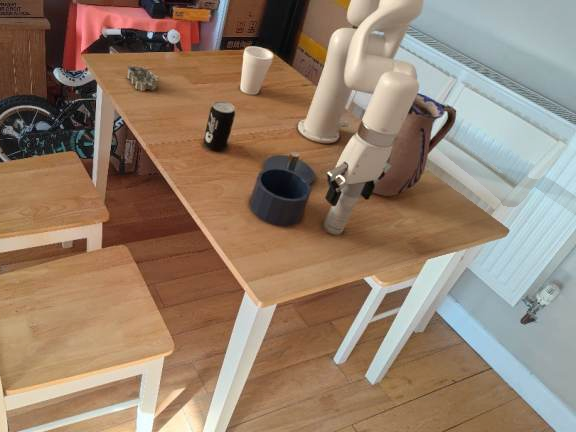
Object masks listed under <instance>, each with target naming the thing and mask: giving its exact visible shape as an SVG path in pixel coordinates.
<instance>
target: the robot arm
mask: <svg viewBox="0 0 576 432" xmlns="http://www.w3.org/2000/svg"><path fill="white" fill-rule="evenodd" d="M424 1H425V0H350V2H349V5H348V8H347V12H346V20H347V22H348V23H349V24H351V25H352V26H354V27H357V28H352V27H341V28H338V29H336V30H335V31H334V32H333V33H332V34H331V36H330V39H329V42H328V48H327V53H326V57H325V62H324V65H323V69H322V72H321V74H320V78H319V81H318V83H317V86H316V89H315V92H314V95H313V98H312V101H311V103H310V106H309V110H308V112H307V115H306V118H304V119H301V120H300V121H299V122H298V125H297V129H298V130H297V131H299V133H300V134H301V135H302V136H304V138H306V139H308V140H311V141H313V142H315V143H319V144H333V143H336V142H337V141H338V140H339V138H340V131H339V129H342V128H348V127H349V126H350V122H349V120H341V118H342V116H343V114H344V111H345V109H346V106H347V105H348V101H349V99H350V97H351V94H352V91H354V92H355V91H356V92H360V93H364V94H370V95H371V98H370V100H369V102H368V105H367V107H366V109H365V112H364V114H363V117H362V119H361V121H360V124H359V126H358V129H357V130H356V132H355V134H353V135H352V136H351V138H350V139H349V141H348V142H347V144H346V145H345V148H344V149H343V151H342V153H341V154H340V157H339V158H338V161H337V162H336V164H335V167H334V168H332V169H331V170H329V171H328V172H327V174H326V176H327V180H326V182H327V183H328V185H329V187H328V189H327V191H326V194H325V197H324V198H325V199H324V200H326V201H327V202H328V203H329V204H330V206H336V205H337V202H338V200H339V198H340V196H341V193H342V192H341V191H340V190H342V189H343V188H344V187H345V186H346V185H347V184H355V183H361V182H366V183H365V185H364V187H363V189H362V192H361V194H360V196H361V197H362V198H363V199H364V200H366V201H367V200H370V198H371V196H372V194H373V190H374V188H375V185H377V184H378V183H379V180H380V179H381V178H382V177H384V176H385V173H386V172H387V171H388V170H389V169H390V167H391V165H390V164H389V163H387V161H388V158H389V156H390V153H391V150H392V147H393V143H394V141H395V139H396V137H397V135H398V132H399V130H400V128H401V126H402V124H403V122H404V120H405V118H406V116H407V114H408V112H409V110H410V108H411V106H412V104H413V102H414V100H415V98H416V95H417V93H419V90H420V83H419V82H418V73H417V69H416V66H414V64H412V63H410V62H407V61H405V60H404V61H403V60H399V59H395V57H396V55H397V53H398V51H399V48H400V46H401V44H402V42H403V40H404V38H405V36H406V34H407V32H408V30H409V27H410V26H411V23H412V22H413V21H415V20H416V19H418V18H419V17H420V16H421V14H422V11H423V6H424ZM376 32H379V33H376ZM380 33H382V34H380ZM345 178H346V179H345ZM340 180H341V182H340V183H339V184H338V182H339V181H340Z"/></svg>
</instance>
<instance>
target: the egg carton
mask: <svg viewBox="0 0 576 432" xmlns="http://www.w3.org/2000/svg"><path fill="white" fill-rule="evenodd" d="M127 79H128V80H131V85H135V89H136V90H137V91H141V92H145V91H146V90H150V91H155V89H157V85H158V81H160V78H159V76H158V75H156V74H155V73H153V72H152V71H150V69H149V70H148V67H146V66H144V67H142V66H140V65H139V66H130V65H127Z"/></svg>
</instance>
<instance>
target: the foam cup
mask: <svg viewBox="0 0 576 432" xmlns="http://www.w3.org/2000/svg"><path fill="white" fill-rule="evenodd" d="M242 58H243V59H242V66H241V77H240V86H239V87H240V88H239V90H240V91H241V92H242V93H244V94H247V95H251V96H254V95H258V94H259V92H260V91H261V89H262V86H263V83H264V81H265V79H266V77H267V75H268V72H269V69H270V68H271V65H272V63H273V60H274V54H273V52H272V51H271V50H269V49H267V48H263V47H261V46H254V45H253V46H246V47H245V48H244V51H243V56H242Z"/></svg>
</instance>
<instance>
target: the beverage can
mask: <svg viewBox="0 0 576 432" xmlns="http://www.w3.org/2000/svg"><path fill="white" fill-rule="evenodd" d="M235 117H236V111H235V106H234V105H233V104H232V103H230V102H228V101H224V100H218V101H215V102H213V104H212V106H211V107H210V109H209V114H208V118H207V123H206V127H205V132H204V137H203V144H204V146H205V147H206V148H207V149H208V150H210V151H213V152H221V151H223V150H225V149H226V148H227V147H228V144H229V140H230V136H231V134H232V133H231V132H232V128H233V124H234V121H235Z"/></svg>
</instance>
